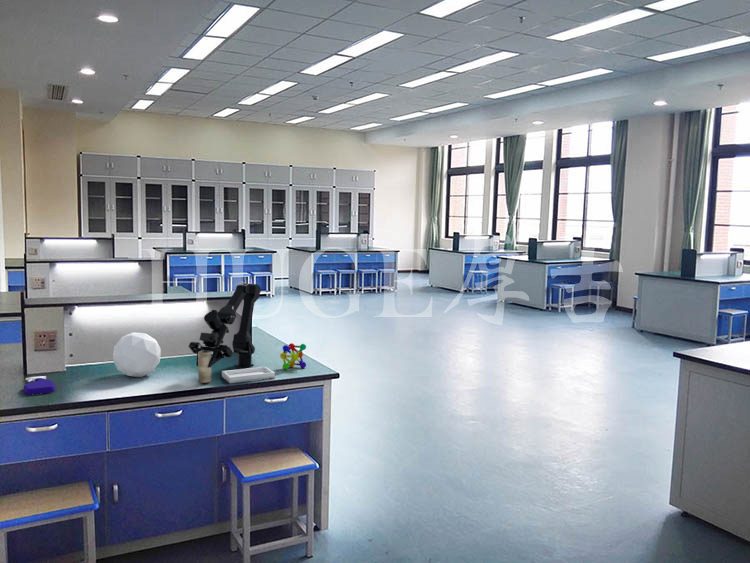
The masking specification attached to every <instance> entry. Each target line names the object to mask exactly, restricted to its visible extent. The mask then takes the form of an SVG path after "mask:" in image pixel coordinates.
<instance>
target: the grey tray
mask: <svg viewBox="0 0 750 563" xmlns="http://www.w3.org/2000/svg"><path fill="white" fill-rule="evenodd" d="M275 376H276V373H275V372H274V371H273V370H271V369H270V368H268V367H267V366H259V367H258V366H257V367H249V368H248V367H246V368H239V369H231V370H229V369H228V370H222V371H221V377H222V378H223V379H224V380H226V382H227V383H229V384H237V383H244V382H246V383H247V382H253V381H254V382H255V381H261V380H262V379H264V380H270V379H269V378H273V379H275V378H276V377H275Z"/></svg>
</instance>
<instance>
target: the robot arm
mask: <svg viewBox="0 0 750 563" xmlns="http://www.w3.org/2000/svg"><path fill="white" fill-rule="evenodd" d="M246 284H248V285H246ZM261 292H262V288H261V287H260V285H259V284H258V283H244V284H238V285H236V287H235V291H234V292H233V293H232V295H231V297H230V299H229V300H228V302H227V303H226V305H225V306H223V307H221V308H220V309H219V310H217V309H212V310H211V311H209V312H207V313H206V314H205V315H204V316H203V319H204V322H205V323H206V324H207V326H208V327H209V329H211V332H209V333H208V332H200V335H199V336H200V337H199V339H198V340H199V341H202V344H203V345H202V344H201V343H200V342H199V341H198V342H197V341H191V342H189V343H188V348H189V349H190V351H191V352H192V353H193V354H196V366H197V367H198V352H199V351H211V353H212V354H211V359H210V362H209V364H208V367H209V368H210V367H211V368H212V366H214V365H215V364H216V363H218V361H221V359H222V360H223V359H225V358H232V356H233V353H234V354H237V363H234V366H236V367H240V368H241V369H244V368H248V367H253V366H254V364H253V363H252V355H253V354H255V351H256V348H255V345H254V344H253V338H252V335H251V333H250V331H251V326H252V319H253V315H254V308H255V304H256V302H257V301H258V299H259V298H260V295H261ZM242 301H243V305H242V311H241V318H240V322H239V328H238V332H237V333H234V335H233V340H232V343H231V344H232V349H233V350H232V349H231V347H230V346H229V345H228V344H224V338H225V335H226V334H229V333H230V330H229V327H228V326H227V325H233V324H234V322H235V320H236V317H237V314H236V313H237V311H238V308H239V307H240V305H241V303H242Z"/></svg>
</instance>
